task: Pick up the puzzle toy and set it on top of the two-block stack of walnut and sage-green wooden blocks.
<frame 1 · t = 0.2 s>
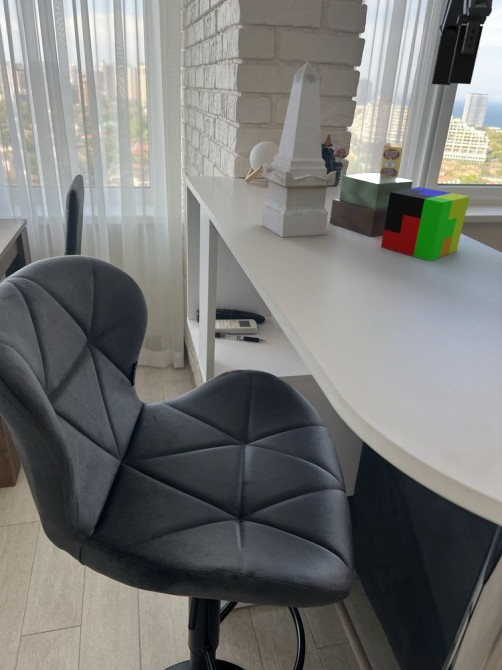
hand: (449, 84, 72), 27 cm above the table, tool pointing down, fingers open, 13 cm apart
puzzle toy: (418, 250, 94), on the table
miniature monument: (292, 230, 102), on the table
candy box: (382, 213, 120), on the table
block stack: (369, 226, 107), on the table
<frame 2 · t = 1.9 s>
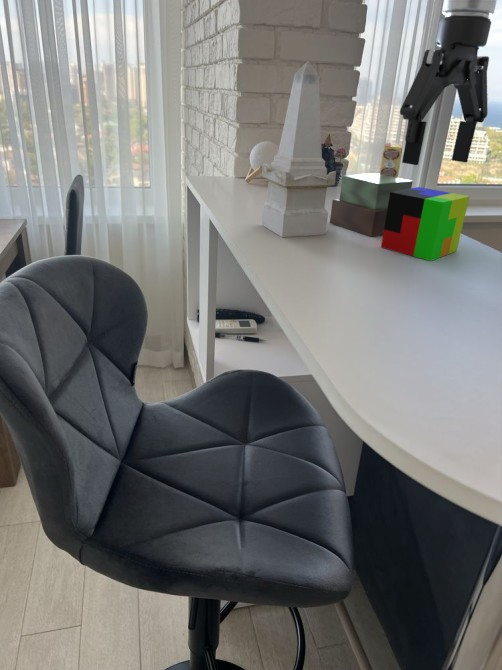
hand: (435, 162, 87), 15 cm above the table, tool pointing down, fingers open, 13 cm apart
nothing on the table moved.
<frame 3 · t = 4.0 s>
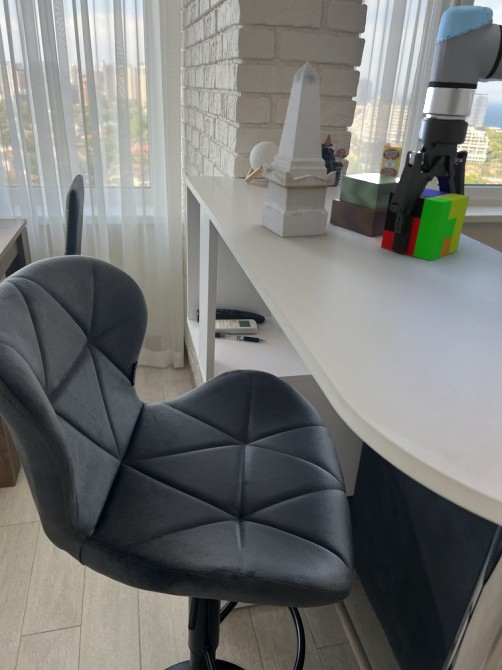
hand: (419, 246, 93), 0 cm above the table, tool pointing down, fingers closed on puzzle toy, 11 cm apart
puzzle toy: (418, 250, 94), on the table, touching gripper
everything else where it was.
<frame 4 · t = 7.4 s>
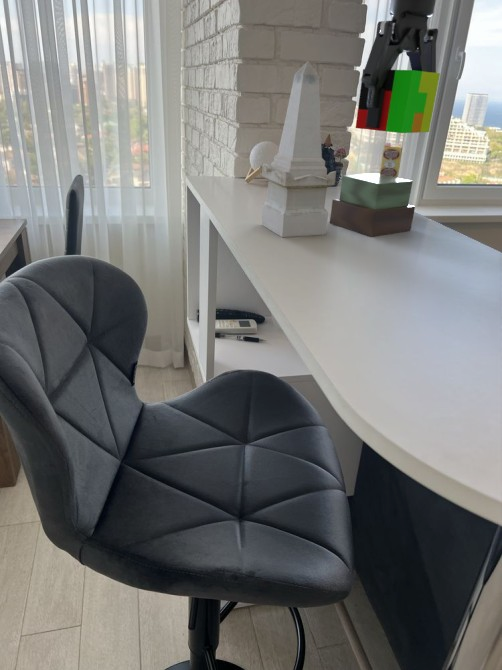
hand: (392, 127, 96), 20 cm above the table, tool pointing down, fingers closed on puzzle toy, 11 cm apart
puzzle toy: (392, 131, 97), point 19 cm above the table, touching gripper
everything else where it was.
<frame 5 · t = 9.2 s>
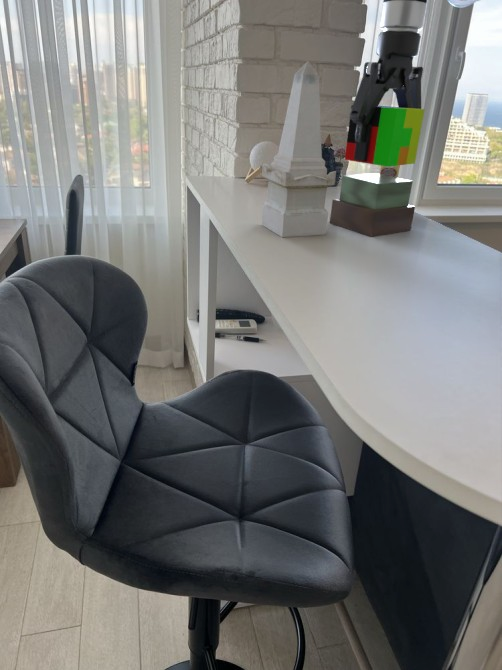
hand: (380, 159, 101), 14 cm above the table, tool pointing down, fingers closed on puzzle toy, 11 cm apart
puzzle toy: (379, 162, 102), point 13 cm above the table, touching gripper
everything else where it was.
when the fingers open (10 cm above the table, at t = 10.8 s): puzzle toy stays where it is, resting on block stack.
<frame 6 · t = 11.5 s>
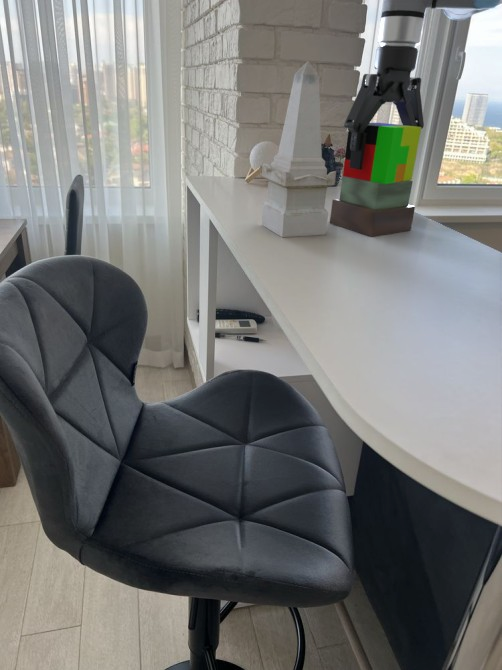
hand: (379, 167, 102), 12 cm above the table, tool pointing down, fingers open, 13 cm apart
puzzle toy: (377, 179, 103), point 10 cm above the table, touching block stack
block stack: (369, 226, 107), on the table, touching puzzle toy
everything else where it was.
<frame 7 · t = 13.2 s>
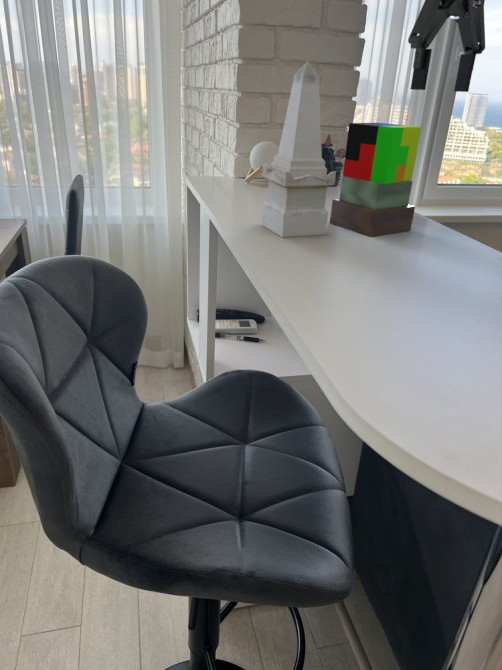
hand: (440, 90, 97), 26 cm above the table, tool pointing down, fingers open, 13 cm apart
nothing on the table moved.
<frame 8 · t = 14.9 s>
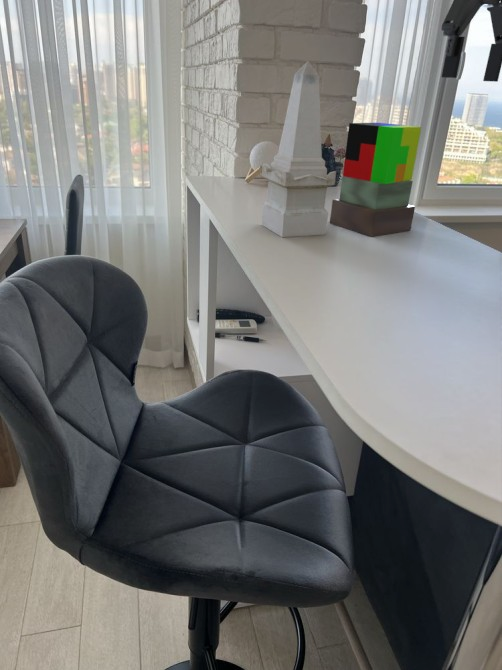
hand: (470, 79, 97), 29 cm above the table, tool pointing down, fingers open, 13 cm apart
nothing on the table moved.
at the end: puzzle toy 0.0 cm off-centre on the block stack, point 9.8 cm above the block stack's base; puzzle toy tilted 0°; block stack tilted 0° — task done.
